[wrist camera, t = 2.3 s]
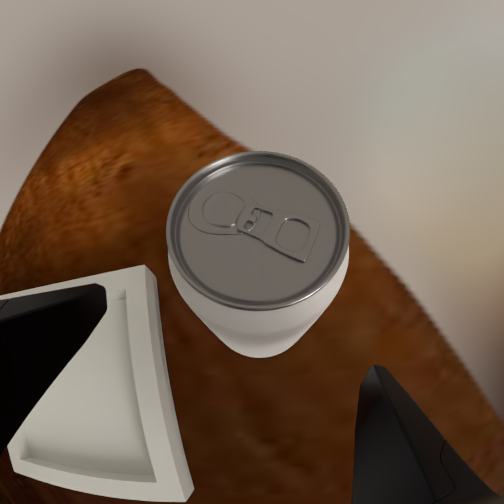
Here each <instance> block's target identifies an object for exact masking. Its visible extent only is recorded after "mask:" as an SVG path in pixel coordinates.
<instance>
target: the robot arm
mask: <svg viewBox="0 0 504 504" xmlns="http://www.w3.org/2000/svg"><path fill="white" fill-rule="evenodd" d="M106 311H107V296H106V289H105V287H104V286H102V285H99V284H97V283H92V284H87V285H81V286H76V287H70V288H64V289H59V290H53V291H48V292H42V293H36V294H31V295H25V296H20V297H14V298H10V299H9V298H8V299H3V300H0V456H1V455H2V453H3V452H4V450H5V448H6V447H7V445H8V444H9V442H10V441H11V439H12V438H13V437H14V435H15V434H16V432H17V431H18V429H19V428H20V426H21V425H22V424H23V422H24V421H25V419H26V418H27V416H28V415H29V414H30V412H31V411H32V409H33V408H34V407H35V405H36V404H37V403H38V401H39V400H40V399H41V397H42V396H43V395H44V393H45V392H46V391H47V390H48V388H49V387H50V386H51V384H52V383H53V382H54V381H55V379H56V378H57V377H58V375H59V374H60V373H61V372H62V370H63V369H64V368H65V367H66V365H67V364H68V363H69V362H70V361H71V359H72V358H73V357H74V356H75V354H76V353H77V352H78V351H79V350H80V348H81V347H82V346H83V345H84V343H85V342H86V341H87V339H88V338H89V336H90V335H91V334H92V332H93V331H94V329H95V328H96V326H97V325H98V323H99V322H100V320H101V319H102V318H103V316H104V315H105V313H106ZM444 439H445V438H444V436H443V435H442V434H441V433H440V432H439V430H438V429H437V428H436V427H435V425H434V424H433V423H432V422H431V421H430V419H429V418H428V417H427V416H426V415H425V413H424V412H423V411H422V410H421V409H420V407H419V406H418V405H417V404H416V403H415V401H414V400H413V399H412V398H411V397H410V395H409V394H408V393H407V392H406V391H405V390H404V388H403V387H402V386H401V385H400V384H399V383H398V381H397V380H396V379H395V378H394V377H393V375H392V374H391V373H390V372H389V371H388V370H387V369H386V368H385V367H384V366H378V365H373V366H372V367H371V368H370V369H369V371H368V373H367V375H366V376H365V378H364V380H363V382H362V383H361V386H360V391H359V401H358V410H357V419H356V427H355V454H354V476H353V491H352V503H351V504H504V496H501V495H499V494H497V493H496V492H494V491H493V490H492V489H491V488H490V487H489V486H488V485H487V484H486V483H485V482H484V481H483V480H482V479H481V478H480V477H479V476H478V475H477V474H476V473H475V472H474V471H473V470H472V469H471V468H470V467H469V466H468V465H467V463H466V462H465V461H464V460H463V459H462V458H461V457H460V456H459V455H458V453H457V452H456V451H455V450H454V449H453V447H452V446H451V445H450V444H449V443H448V441H447V440H446V439H445V440H444Z"/></svg>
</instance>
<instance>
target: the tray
mask: <svg viewBox="0 0 504 504" xmlns="http://www.w3.org/2000/svg"><path fill="white" fill-rule="evenodd" d="M92 283H97V284H99V285H102V286H104V287H105V289H106V296H107V311H106V313H105V315H104V316H103V318H102V319H101V320H100V322H99V323H98V325H97V326H96V328H95V329H94V331H93V332H92V334H91V335H90V336H89V338H88V339H87V341H86V342H85V343H84V345H83V346H82V347H81V348H80V350H79V351H78V352H77V353H76V354H75V356H74V357H73V358H72V359H71V361H70V362H69V363H68V364H67V365H66V367H65V368H64V369H63V370H62V372H61V373H60V374H59V375H58V377H57V378H56V379H55V381H54V382H53V383H52V384H51V386H50V387H49V388H48V390H47V391H46V392H45V393H44V395H43V396H42V397H41V399H40V400H39V401H38V403H37V404H36V405H35V407H34V408H33V409H32V411H31V412H30V414H29V415H28V416H27V418H26V419H25V421H24V422H23V424H22V425H21V426H20V428H19V429H18V431H17V432H16V434H15V435H14V437H13V438H12V439H11V441H10V442H9V444H8V445H7V447H8V451H9V455H10V459H11V462H12V466H13V469H14V472H17V473H19V474H22V475H25V476H28V477H31V478H34V479H37V480H40V481H43V482H46V483H49V484H53V485H56V486H60V487H64V488H68V489H72V490H76V491H81V492H85V493H91V494H96V495H102V496H108V497H115V498H122V499H131V500H142V501H158V502H186V501H187V499H188V498H189V497H190V495H191V494H192V492H193V491H194V486H193V482H192V479H191V475H190V472H189V468H188V464H187V461H186V457H185V453H184V449H183V445H182V440H181V436H180V432H179V427H178V423H177V418H176V413H175V408H174V403H173V398H172V393H171V387H170V382H169V376H168V370H167V363H166V357H165V350H164V343H163V335H162V327H161V319H160V309H159V299H158V289H157V278H156V276H155V275H154V274H153V273H152V272H151V271H150V270H149V269H148V268H147V267H146V266H145V265H140V266H136V267H131V268H126V269H121V270H117V271H112V272H107V273H102V274H98V275H93V276H88V277H83V278H79V279H74V280H69V281H65V282H60V283H56V284H51V285H46V286H42V287H37V288H33V289H28V290H24V291H19V292H15V293H10V294H6V295H1V296H0V300H3V299H8V298H9V299H10V298H14V297H20V296H25V295H31V294H36V293H42V292H48V291H53V290H59V289H64V288H70V287H76V286H81V285H87V284H92Z"/></svg>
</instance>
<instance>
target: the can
mask: <svg viewBox="0 0 504 504" xmlns="http://www.w3.org/2000/svg"><path fill="white" fill-rule="evenodd" d="M349 238H350V223H349V217H348V213H347V209H346V206H345V204H344V202H343V199H342V198H341V196H340V194H339V192H338V191H337V189H336V188H335V187H334V186H333V184H332V183H331V182H330V181H329V180H328V179H327V178H326V177H325V176H324V175H323V174H322V173H321V172H319V171H318V170H317V169H315V168H314V167H312V166H311V165H309V164H307V163H306V162H303V161H301V160H299V159H297V158H294V157H291V156H288V155H285V154H280V153H275V152H267V151H250V152H242V153H236V154H232V155H229V156H226V157H223V158H220V159H218V160H215V161H213V162H211V163H209V164H208V165H206V166H204V167H203V168H201V169H200V170H199V171H197V172H196V173H195V174H194V175H192V176H191V177H190V178H189V179H188V180H187V181H186V182H185V184H184V185H183V186H182V187H181V189H180V190H179V191H178V193H177V195H176V196H175V198H174V200H173V202H172V205H171V207H170V210H169V213H168V217H167V224H166V240H167V246H168V260H169V267H170V271H171V275H172V278H173V281H174V283H175V285H176V287H177V289H178V291H179V293H180V295H181V296H182V298H183V299H184V301H185V302H186V303H187V304H188V306H189V307H190V308H191V309H192V311H193V312H194V313H195V314H196V315H197V316H198V317H199V318H200V319H201V320H202V321H203V322H204V324H205V325H206V326H207V327H208V328H209V329H210V330H211V331H212V332H213V333H214V334H215V335H216V336H217V337H218V338H219V339H220V340H221V341H223V342H224V343H225V344H226V345H227V346H228V347H230V348H231V349H232V350H234V351H236V352H237V353H240V354H242V355H245V356H249V357H255V358H264V357H271V356H274V355H277V354H280V353H282V352H284V351H285V350H287V349H288V348H290V347H291V346H292V345H293V344H294V343H296V342H297V341H298V340H299V338H300V337H301V336H302V335H303V334H304V333H305V332H306V331H307V330H308V329H309V328H310V327H311V326H312V324H313V323H314V322H315V321H316V320H317V319H318V318H319V317H320V315H321V314H322V313H323V312H324V311H325V309H326V308H327V307H328V306H329V304H330V303H331V301H332V300H333V299H334V297H335V296H336V294H337V292H338V291H339V289H340V287H341V284H342V282H343V280H344V277H345V274H346V270H347V266H348V259H349V246H348V245H349Z"/></svg>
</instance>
